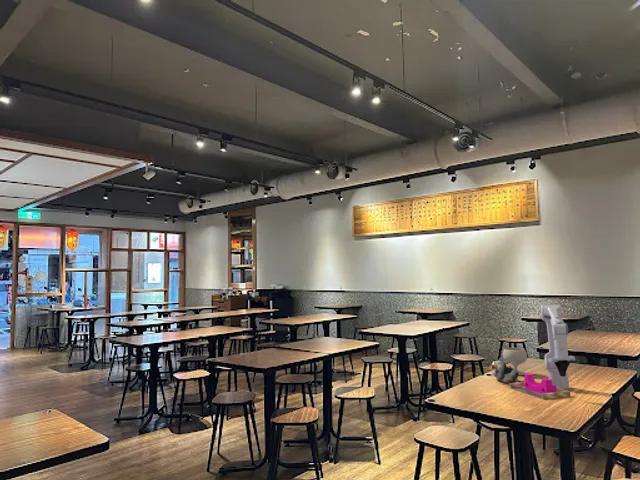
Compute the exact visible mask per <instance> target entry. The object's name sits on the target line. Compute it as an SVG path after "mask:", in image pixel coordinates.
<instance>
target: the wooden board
mask: <svg viewBox="0 0 640 480" xmlns="http://www.w3.org/2000/svg"><path fill="white" fill-rule="evenodd" d="M535 382H536V383H541V382H539V381H536V380H535ZM508 385H509V389H511V390H515V391H517V392H521V393H523V394H526V395H530V396H532V397H536V398H538V399H542V400H549V399H550V400H551V399H558V398H567V397H571V391H570V390H566V389H560V388H557V387H556V392H554V393H544V394H540V393H537V392H534V391H531V390H528V389H525V381H521V382H518V381H517V382H516V383H509V384H508Z"/></svg>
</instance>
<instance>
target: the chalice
mask: <svg viewBox="0 0 640 480" xmlns="http://www.w3.org/2000/svg"><path fill="white" fill-rule="evenodd" d="M502 351H503V352H502V358H503V359H504V361H506V362H508V364H511V366H512V367H513V368H514V369H515V371H516V372H518V373H519V375H518V376H524V374H527V373H526V372H525V371H522V370H521V371H520V370H519V369H518V367H519V366H520V365H521V364H522V363H525V362H526V361H527V360H528V353H527V351H526V349H525V348H521V347H505V348H504V349H503V350H502Z"/></svg>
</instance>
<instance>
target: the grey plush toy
mask: <svg viewBox="0 0 640 480" xmlns="http://www.w3.org/2000/svg"><path fill="white" fill-rule="evenodd" d="M490 370H491V374H492V375H493V376H494V377H495V379H496V381H500V382H502V383H506V384H508V385H509V383H518V380H519V379H518V377H519V376H520V375H519V373H518V372H516V371H515V369H514V367H513V366H512V365H508V366H507V364H506V363H505V362H504V361H502V360H501V359H498V360H495V359H492V362H491V365H490Z"/></svg>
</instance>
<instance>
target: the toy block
mask: <svg viewBox="0 0 640 480" xmlns="http://www.w3.org/2000/svg"><path fill="white" fill-rule="evenodd" d="M523 377H524V378H523V379H524V380H523V382H525V389H528V390H531V391H534V392H537V393H540V394H544V393H554V392H556V385H553V384H552V380H551V379H549V378H541V382H540V383H536V382H537V381H536V380H535V377H534V374H532V373H526V374H524V375H523ZM535 381H536V382H535Z"/></svg>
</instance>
